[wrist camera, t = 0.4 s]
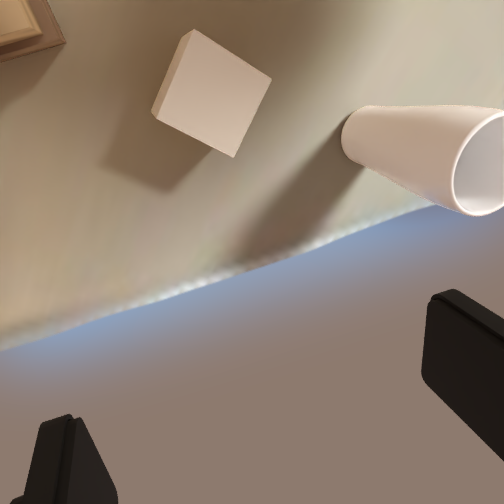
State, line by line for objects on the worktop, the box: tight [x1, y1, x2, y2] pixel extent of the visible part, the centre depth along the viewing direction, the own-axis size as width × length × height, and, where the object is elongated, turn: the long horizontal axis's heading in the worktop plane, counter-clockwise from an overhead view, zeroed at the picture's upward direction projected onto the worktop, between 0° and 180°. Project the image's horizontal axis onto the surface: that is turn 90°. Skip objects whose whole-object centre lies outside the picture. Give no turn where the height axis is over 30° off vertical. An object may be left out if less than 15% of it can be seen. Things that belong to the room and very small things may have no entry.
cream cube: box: [151, 29, 272, 158], centre depth 28 cm, size 6×6×6 cm
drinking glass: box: [341, 105, 504, 217], centre depth 30 cm, size 7×7×15 cm
